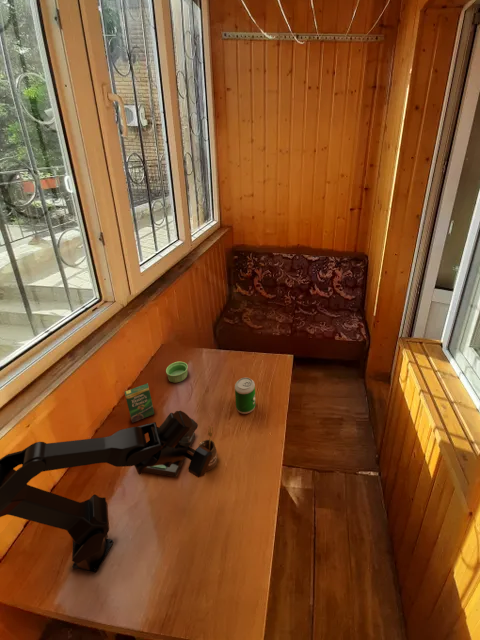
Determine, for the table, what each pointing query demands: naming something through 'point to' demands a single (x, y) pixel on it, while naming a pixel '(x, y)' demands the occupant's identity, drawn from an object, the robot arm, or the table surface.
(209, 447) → the utensil holder
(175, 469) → the kitchen scale
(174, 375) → the ramekin
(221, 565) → the table surface
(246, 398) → the soda can
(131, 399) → the coffee box
